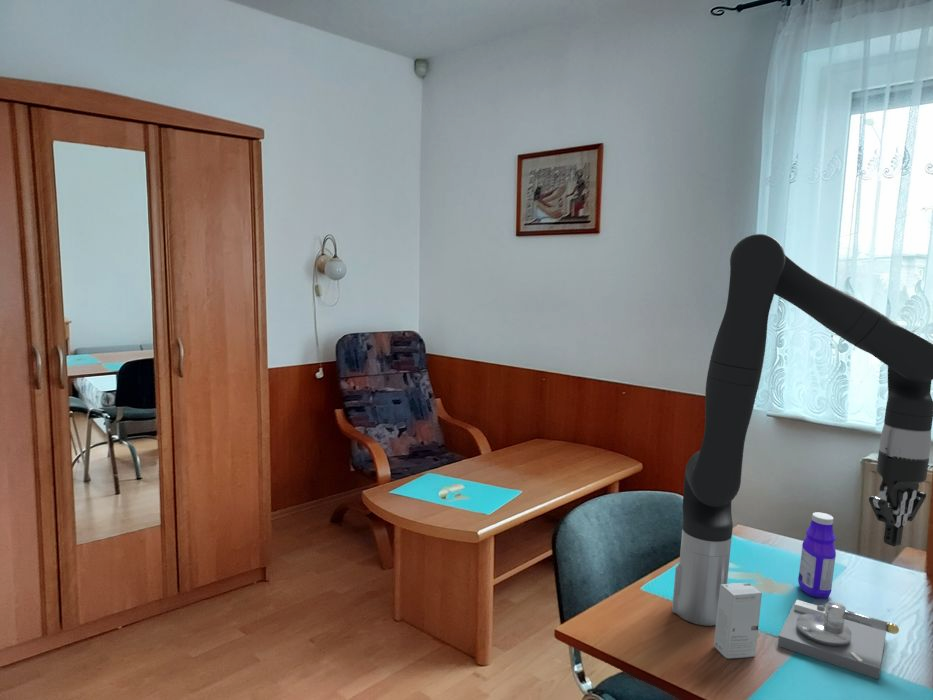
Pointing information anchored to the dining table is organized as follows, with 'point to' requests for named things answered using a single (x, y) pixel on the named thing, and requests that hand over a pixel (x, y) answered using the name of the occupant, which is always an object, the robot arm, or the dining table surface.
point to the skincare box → (737, 620)
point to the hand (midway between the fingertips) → (891, 544)
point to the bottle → (818, 557)
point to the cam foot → (837, 625)
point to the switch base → (854, 656)
